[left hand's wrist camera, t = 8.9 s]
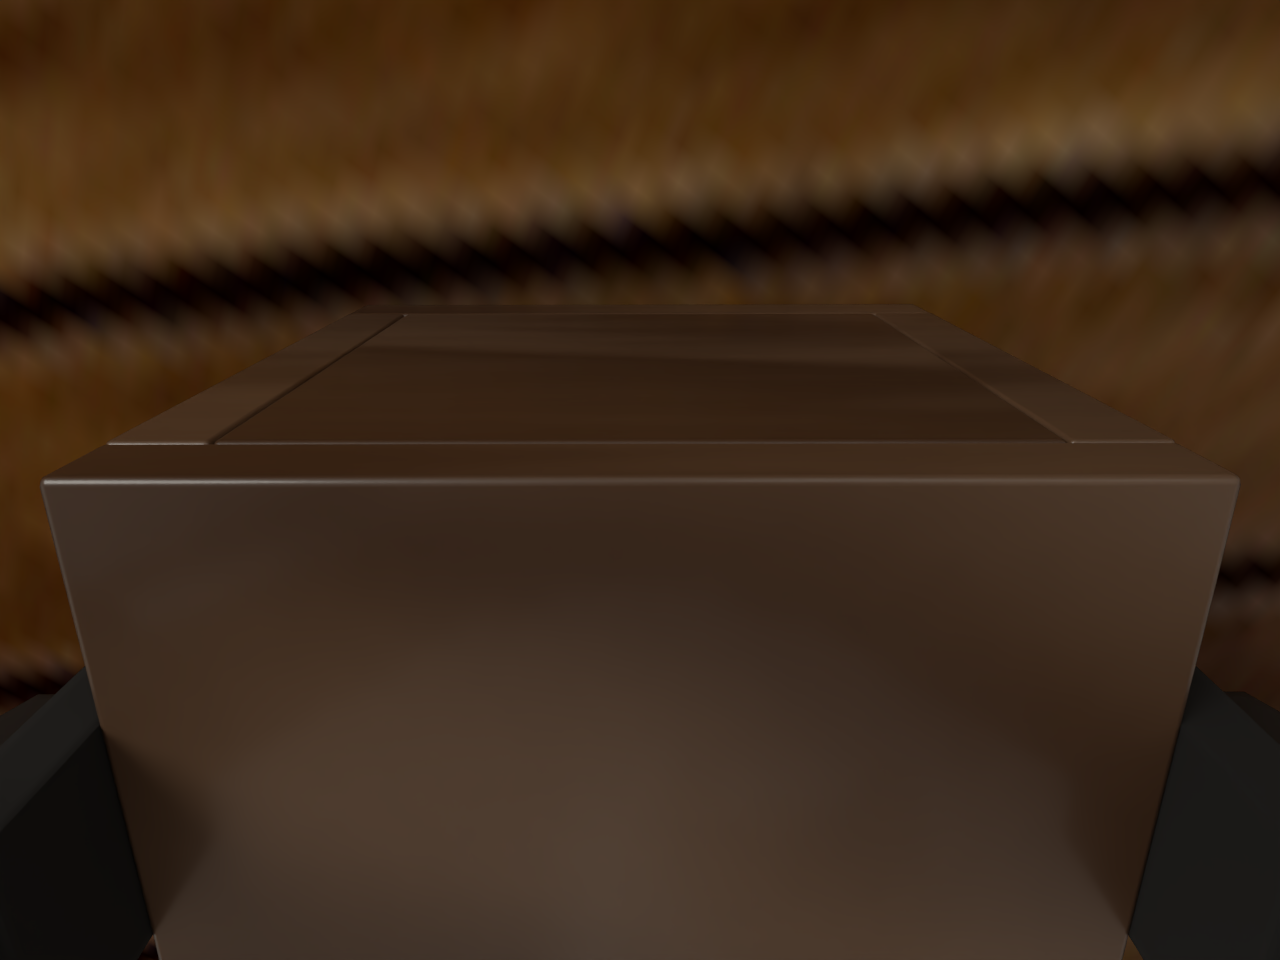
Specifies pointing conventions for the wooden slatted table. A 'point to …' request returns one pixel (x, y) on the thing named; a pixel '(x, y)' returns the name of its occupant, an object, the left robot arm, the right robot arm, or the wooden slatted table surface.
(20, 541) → the wooden slatted table surface
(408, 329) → the cabinet
